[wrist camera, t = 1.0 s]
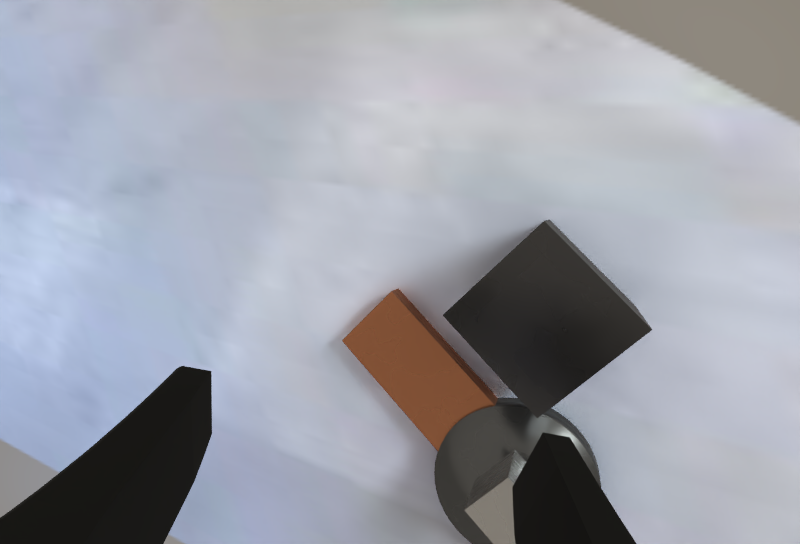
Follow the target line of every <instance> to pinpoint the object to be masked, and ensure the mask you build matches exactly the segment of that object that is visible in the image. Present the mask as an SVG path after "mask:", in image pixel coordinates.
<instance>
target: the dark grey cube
mask: <svg viewBox="0 0 800 544" xmlns="http://www.w3.org/2000/svg"><path fill="white" fill-rule="evenodd" d="M443 316H444V317H445V318H446V319H447V320H448V321H449V323H450V324H451V325H452V326H453V327H454V328H455V329H456V330H457V331H458V332H459V333H460V335H461V336H462V337H463V338H464V339H465V340H466V341H467V342H468V343H469V344H470V345H471V347H472V348H473V349H474V350H475V351H476V352H477V353H478V354H479V355H480V356H481V358H482V359H483V360H484V361H485V362H486V363H487V364H488V365H489V366H490V367H491V368H492V370H493V371H494V372H495V373H496V374H497V375H498V376H499V377H500V378H501V379H502V380H503V382H504V383H505V384H506V385H507V386H508V387H509V388H510V389H511V390H512V391H513V393H514V394H515V395H516V396H517V397H518V398H519V399H520V400H521V401H522V402H523V403H524V405H525V406H526V407H527V408H528V409H529V410H530V411H531V412H532V413H533V414H534V415H535V417H536V418H539V417H540V416H541V415H542V414H544V413H545V412H546V411H548V410H549V409H550V408H552V407H553V406H554V405H555V404H557V403H558V402H559V401H561V400H562V399H563V398H564V397H566V396H567V395H568V394H570V393H571V392H572V391H574V390H575V389H576V388H577V387H579V386H580V385H581V384H583V383H584V382H585V381H586V380H588V379H589V378H590V377H592V376H593V375H594V374H596V373H597V372H598V371H599V370H601V369H602V368H603V367H605V366H606V365H607V364H608V363H610V362H611V361H612V360H614V359H615V358H616V357H617V356H619V355H620V354H621V353H623V352H624V351H625V350H627V349H628V348H629V347H630V346H632V345H633V344H634V343H636V342H637V341H638V340H639V339H641V338H642V337H643V336H645V335H646V334H647V333H649V332H650V331H651V330H652V329H651V327H650V326H649V325H648V323H647V322H646V320H645V319H644V317H643V316H642V315H641V313H640V312H639V310H638V309H637V308H636V306H635V305H634V304H633V303H632V302H631V301H630V300H629V299H628V298H627V297H626V296H625V295H624V294H623V293H622V292H621V291H620V290H619V289H618V288H617V287H616V286H615V285H614V284H613V283H612V282H611V281H610V280H609V279H608V278H607V277H606V276H605V275H604V274H603V273H602V272H601V271H600V270H599V269H598V268H597V267H596V266H595V265H594V264H593V263H592V262H591V261H590V260H589V259H588V258H587V257H586V256H585V255H584V254H583V253H582V252H581V251H580V250H579V249H578V248H577V247H576V246H575V245H574V244H573V243H572V242H571V241H570V240H569V239H568V238H567V237H566V236H565V235H564V234H563V233H562V232H561V231H560V230H559V229H558V228H557V227H556V226H555V225H554V224H553V223H552V222H551V221H550V220H546V221H544V222H543V223H542V224H541V225H539V226H538V227H537V228H536V229H535V230H534V231H533V232H532V233H531V234H530V235H529V236H528V237H527V238H525V239H524V240H523V241H522V242H521V243H520V244H519V245H518V246H517V247H516V248H515V249H514V250H513V251H511V252H510V253H509V254H508V255H507V256H506V257H505V258H504V259H503V260H502V261H501V262H500V263H499V264H497V265H496V266H495V267H494V268H493V269H492V270H491V271H490V272H489V273H488V274H487V275H486V276H485V277H483V278H482V279H481V280H480V281H479V282H478V283H477V284H476V285H475V286H474V287H473V288H472V289H471V290H469V291H468V292H467V293H466V294H465V295H464V296H463V297H462V298H461V299H460V300H459V301H458V302H457V303H455V304H454V305H453V306H452V307H451V308H450V309H449V310H448V311H447V312H446V313H445V314H444V315H443Z"/></svg>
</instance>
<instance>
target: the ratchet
mask: <svg viewBox="0 0 800 544" xmlns="http://www.w3.org/2000/svg"><path fill="white" fill-rule="evenodd" d="M342 341H343V342H344V344H345V345H346V346H347V347H348V348H349V349H350V350H351V352H352V353H353V354H354V355H355V356H356V357H357V358H358V360H359V361H360V362H361V363H362V364H363V365H364V367H365V368H366V369H367V370H368V371H369V372H370V373H371V375H372V376H373V377H374V378H375V379H376V380H377V382H378V383H379V384H380V385H381V386H382V387H383V388H384V390H385V391H386V392H387V393H388V394H389V395H390V397H391V398H392V399H393V400H394V401H395V402H396V403H397V405H398V406H399V407H400V408H401V409H402V410H403V412H404V413H405V414H406V415H407V416H408V417H409V418H410V420H411V421H412V422H413V423H414V424H415V425H416V427H417V428H418V429H419V430H420V431H421V432H422V433H423V435H424V436H425V437H426V438H427V439H428V440H429V441H430V443H431V444H432V445H433V446H434V447H435V448H436V450H437V451H438V453H437V458H436V462H435V484H436V490H437V494H438V497H439V500H440V503H441V505H442V507H443V509H444V511H445V513H446V515H447V516H448V518H449V520H450V521H451V522H452V524H453V525H454V526H455V528H456V529H457V530H458V531H459V532H460V533H461V534H462V535H463V536H464V537H465V538H466V539H467V540H468V541H470V542H471V543H472V544H516V543H515V536H514V519H513V492H512V487H513V485H514V483H515V481H516V479H517V478H518V476H519V474H520V472H521V471H522V469H523V467H524V465H525V463H526V462H527V460H528V458H529V456H530V454H531V453H532V451H533V449H534V447H535V446H536V444H537V442H538V440H539V438H540V437H541V435H542V433H543V432H544V433H550V434H555V435H560V436H566V437H570V438H571V440H572V442H573V443H574V445H575V447H576V448H577V450H578V451H579V453H580V455H581V456H582V458H583V460H584V461H585V463H586V464H587V466H588V468H589V469H590V471H591V473H592V474H593V476H594V478H595V479H596V481H597V483H598V484H599V486H600V487H601V483H600V475H599V469H598V465H597V462H596V458H595V456H594V453H593V451H592V449H591V447H590V445H589V444H588V442H587V441H586V439H585V437H584V436H583V435H582V434H581V432H580V431H579V430H578V429H577V428H576V427H575V426H574V425H573V424H572V423H571V422H570V421H569V420H568V419H566V418H565V417H564V416H562V415H561V414H560V413H558V412H556V411H555V410H553V409H551V408H550V409H549V410H548V411H546V412H545V413H544V414H542V415H541V416H540V417H539V418H536V417H535V415H534V414H533V413H532V412H531V411H530V410H529V409H528V408H527V407H526V406H525V405H524V403H523V402H522V401H521V400H520V399H519V398H497V397H496V396H495V395H494V393H493V392H492V391H491V390H490V389H489V388H488V387H487V386H486V385H485V384H484V382H483V381H482V380H481V379H480V378H479V377H478V376H477V375H476V374H475V373H474V371H473V370H472V369H471V368H470V367H469V366H468V365H467V364H466V363H465V361H464V360H463V359H462V358H461V357H460V356H459V355H458V354H457V353H456V352H455V350H454V349H453V348H452V347H451V346H450V345H449V344H448V343H447V342H446V341H445V339H444V338H443V337H442V336H441V335H440V334H439V333H438V332H437V331H436V330H435V328H434V327H433V326H432V325H431V324H430V323H429V322H428V321H427V320H426V318H425V317H424V316H423V315H422V314H421V313H420V312H419V311H418V310H417V309H416V307H415V306H414V305H413V304H412V303H411V302H410V301H409V300H408V299H407V298H406V296H405V295H404V294H403V293H402V292H401V291H400V290H399V289H396V290H394V291H391V292H390V293H389V294H388V295H387V296H386V297H385V298H384V299H383V300H382V301H381V302H380V303H379V304H378V305H377V306H376V307H375V308H374V309H373V310H372V311H371V312H370V313H369V314H368V315H367V316H366V317H365V318H364V319H363V320H362V321H361V322H360V323H359V324H358V325H357V326H356V327H355V328H354V329H353V330H352V331H351V332H350V333H349V334H348V335H347V336H346V337H345V338H344V339H343V340H342Z"/></svg>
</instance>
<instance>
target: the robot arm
mask: <svg viewBox="0 0 800 544" xmlns="http://www.w3.org/2000/svg"><path fill="white" fill-rule="evenodd" d="M211 435H212V407H211V371H207V370H201V369H196V368H191V367H185V366H181V367H179V368H177V369H176V370H175V371H174V372H173V373H172V374H171V375H170V376H169V377H168V378H167V379H166V380H165V381H164V382H163V383H162V384H161V385H160V386H159V387H158V388H157V389H155V390H154V391H153V392H152V393H151V394H150V395H149V396H148V397H147V398H146V399H145V400H144V401H143V402H142V403H141V404H140V405H138V406H137V407H136V408H135V409H134V410H133V411H132V412H131V413H130V414H129V415H128V416H126V417H125V418H124V419H123V420H122V421H121V422H120V423H119V424H117V425H116V426H115V427H114V428H113V429H112V430H110V431H109V432H108V433H107V434H106V435H105V436H104V437H102V438H101V439H100V440H99V441H98V442H97V443H96V444H94V445H93V446H92V447H91V448H90V449H89V450H87V451H86V452H85V453H84V454H83V455H81V456H80V457H79V458H78V459H76V460H75V461H74V462H73V463H71V464H70V465H69V466H68V467H66V468H65V469H64V470H63V471H61V472H60V473H59V474H58V475H56V476H55V477H54V478H53V479H52V480H50V481H49V482H48V483H46V484H45V485H44V486H43V487H41V488H40V489H39V490H38V491H36V492H35V493H34V494H32V495H31V496H29V497H28V498H27V499H25V500H24V501H23V502H21V503H20V504H19V505H17V506H16V507H15V508H14V509H12V510H11V511H9V512H8V513H7V514H5V515H4V516H2V517H1V518H0V544H163V543H164V541H165V539H166V537H167V535H168V533H169V531H170V529H171V527H172V525H173V523H174V521H175V519H176V517H177V515H178V513H179V511H180V509H181V507H182V505H183V503H184V501H185V499H186V497H187V495H188V493H189V491H190V489H191V487H192V485H193V483H194V481H195V478H196V475H197V473H198V470H199V467H200V465H201V462H202V460H203V457H204V454H205V451H206V449H207V446H208V443H209V440H210V437H211ZM512 492H513V519H514V536H515V543H516V544H636V542H635V541H634V539H633V538H632V536H631V535H630V533H629V532H628V530H627V529H626V527H625V526H624V524H623V522H622V521H621V519H620V518H619V516H618V515H617V513H616V512H615V510H614V508H613V507H612V505H611V504H610V502H609V500H608V499H607V497H606V495H605V494H604V492H603V491H602V489H601V487H600V486H599V484H598V483H597V481H596V479H595V478H594V476H593V474H592V473H591V471H590V469H589V468H588V466H587V464H586V463H585V461H584V460H583V458H582V456H581V455H580V453H579V451H578V450H577V448H576V447H575V445H574V443H573V442H572V440H571V438H570V437H566V436H560V435H555V434H550V433H544V432H543V433H542V435H541V437H540V438H539V440H538V442H537V444H536V446H535V447H534V449H533V451H532V453H531V454H530V456H529V458H528V460H527V462H526V463H525V465H524V467H523V469H522V471H521V472H520V474H519V476H518V478H517V479H516V481H515V483H514V485H513V487H512Z"/></svg>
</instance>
